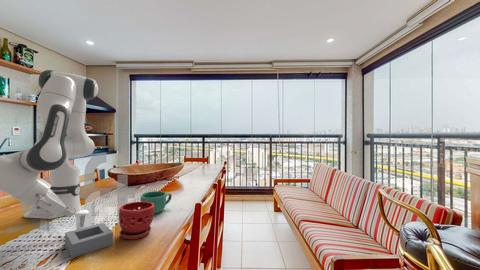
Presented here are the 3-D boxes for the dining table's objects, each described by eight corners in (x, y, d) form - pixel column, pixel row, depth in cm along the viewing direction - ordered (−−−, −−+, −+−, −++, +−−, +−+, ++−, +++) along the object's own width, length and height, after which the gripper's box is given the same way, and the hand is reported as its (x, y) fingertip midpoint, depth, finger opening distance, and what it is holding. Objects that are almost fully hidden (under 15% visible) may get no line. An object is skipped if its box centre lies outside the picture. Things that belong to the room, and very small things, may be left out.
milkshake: (77, 230, 86) (78, 206, 86) (90, 230, 87) (91, 206, 87) (69, 235, 82) (70, 210, 82) (83, 235, 82) (84, 210, 82)
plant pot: (151, 239, 81) (152, 209, 81) (113, 243, 77) (115, 211, 77) (155, 225, 93) (156, 199, 93) (123, 228, 89) (124, 201, 89)
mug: (144, 218, 101) (145, 199, 101) (137, 210, 110) (137, 193, 110) (176, 211, 112) (176, 193, 112) (167, 204, 121) (167, 188, 121)
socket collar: (71, 258, 67) (72, 244, 67) (64, 244, 75) (65, 232, 75) (112, 244, 76) (113, 232, 76) (102, 233, 84) (103, 222, 84)
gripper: (47, 190, 69) (82, 211, 76) (41, 180, 82) (71, 199, 90) (28, 206, 66) (66, 227, 73) (24, 194, 79) (57, 212, 86)
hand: (69, 212), depth 81 cm, fingers open, 8 cm apart
